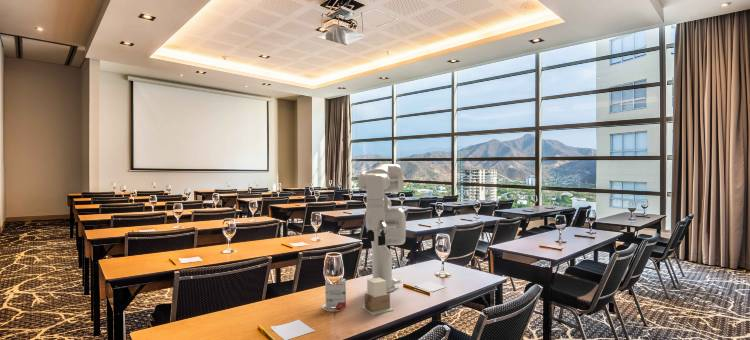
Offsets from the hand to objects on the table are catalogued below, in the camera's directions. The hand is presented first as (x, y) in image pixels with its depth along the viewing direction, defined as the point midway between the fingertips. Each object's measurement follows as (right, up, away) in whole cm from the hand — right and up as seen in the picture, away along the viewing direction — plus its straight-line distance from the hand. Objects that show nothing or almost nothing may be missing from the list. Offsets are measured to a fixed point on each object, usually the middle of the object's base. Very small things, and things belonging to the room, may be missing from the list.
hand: (376, 243), depth 170 cm
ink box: (-18, -29, +4) cm, 34 cm away
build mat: (0, -28, 0) cm, 28 cm away
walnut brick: (0, -28, +1) cm, 28 cm away
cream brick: (0, -22, 0) cm, 22 cm away
